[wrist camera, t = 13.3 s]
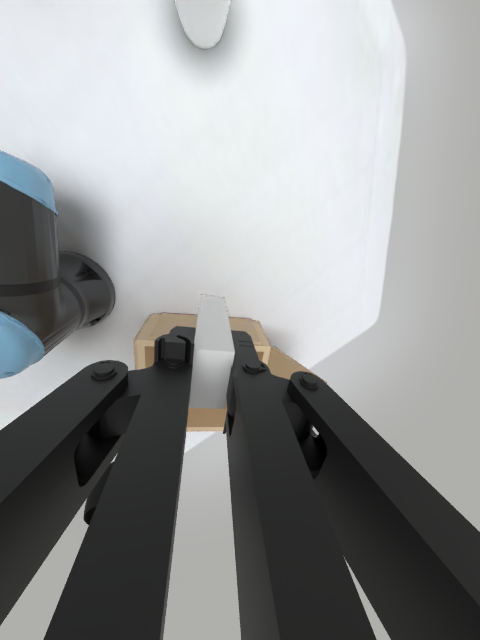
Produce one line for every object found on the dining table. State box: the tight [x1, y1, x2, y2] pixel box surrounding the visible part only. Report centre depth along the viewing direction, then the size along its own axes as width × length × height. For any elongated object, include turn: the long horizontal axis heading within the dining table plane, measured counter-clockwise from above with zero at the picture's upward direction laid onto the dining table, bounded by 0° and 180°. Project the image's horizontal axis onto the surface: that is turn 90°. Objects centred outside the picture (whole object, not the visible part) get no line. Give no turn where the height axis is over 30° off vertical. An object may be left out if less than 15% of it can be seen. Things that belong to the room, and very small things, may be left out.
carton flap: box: [268, 347, 327, 384], centre depth 42 cm, size 12×22×1 cm
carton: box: [134, 313, 271, 431], centre depth 50 cm, size 25×23×12 cm
